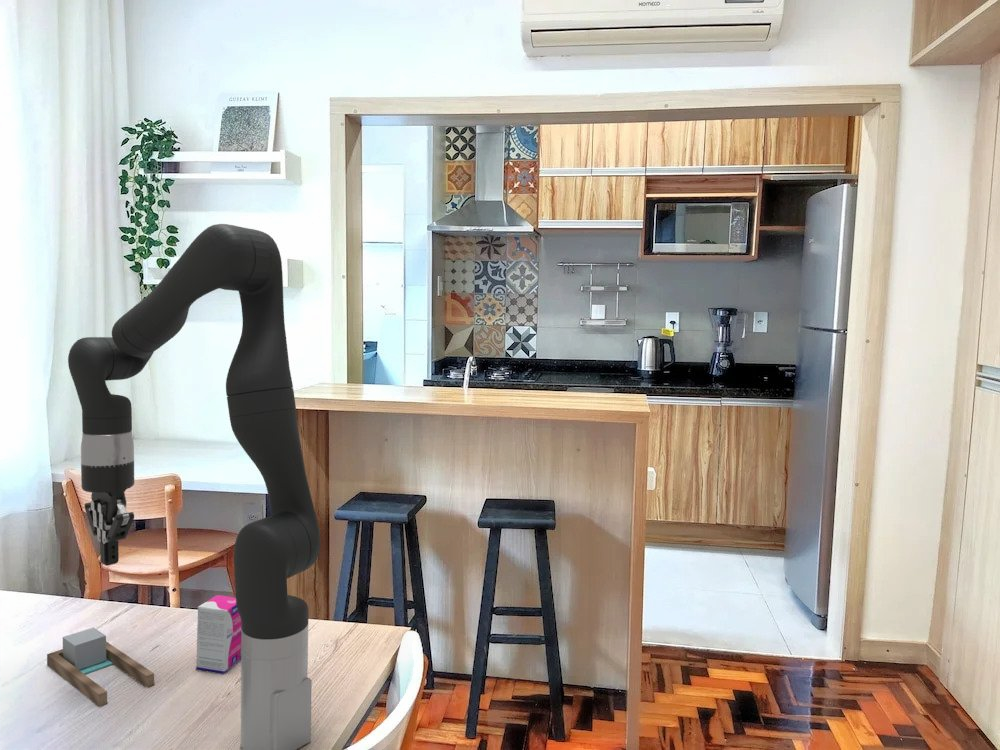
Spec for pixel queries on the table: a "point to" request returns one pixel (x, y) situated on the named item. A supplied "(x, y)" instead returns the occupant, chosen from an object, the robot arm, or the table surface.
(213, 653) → the supplement box
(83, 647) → the block
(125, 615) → the table surface
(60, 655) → the wooden u-shaped frame
